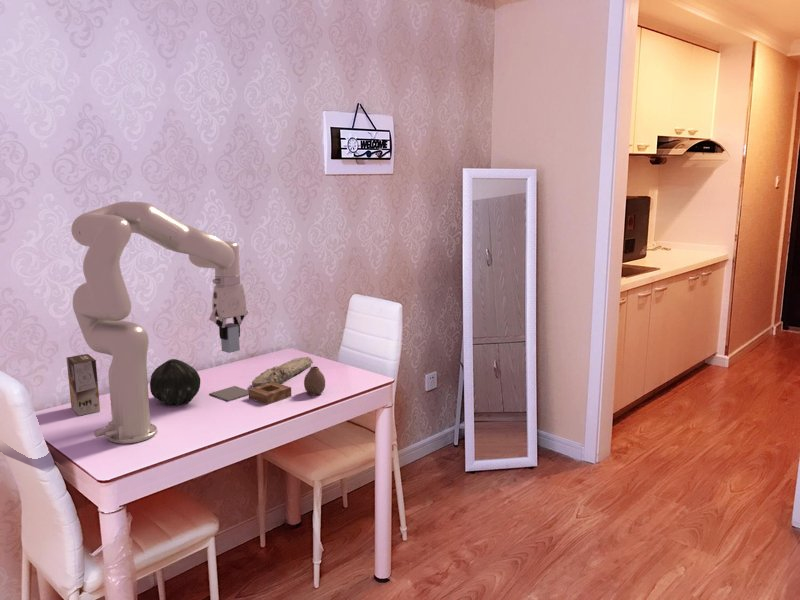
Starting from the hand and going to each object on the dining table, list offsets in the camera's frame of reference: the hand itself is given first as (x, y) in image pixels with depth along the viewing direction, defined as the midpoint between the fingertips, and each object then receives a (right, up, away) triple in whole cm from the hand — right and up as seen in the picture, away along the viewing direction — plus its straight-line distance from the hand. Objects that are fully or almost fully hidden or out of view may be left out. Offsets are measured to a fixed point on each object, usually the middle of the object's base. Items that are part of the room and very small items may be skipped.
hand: (230, 337), depth 206 cm
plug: (0, -4, +1) cm, 4 cm away
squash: (-16, -20, -3) cm, 26 cm away
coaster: (0, -19, +4) cm, 19 cm away
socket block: (+13, -19, +1) cm, 23 cm away
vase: (+26, -19, +5) cm, 33 cm away
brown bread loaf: (+13, -16, +23) cm, 31 cm away
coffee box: (-41, -22, -11) cm, 47 cm away
